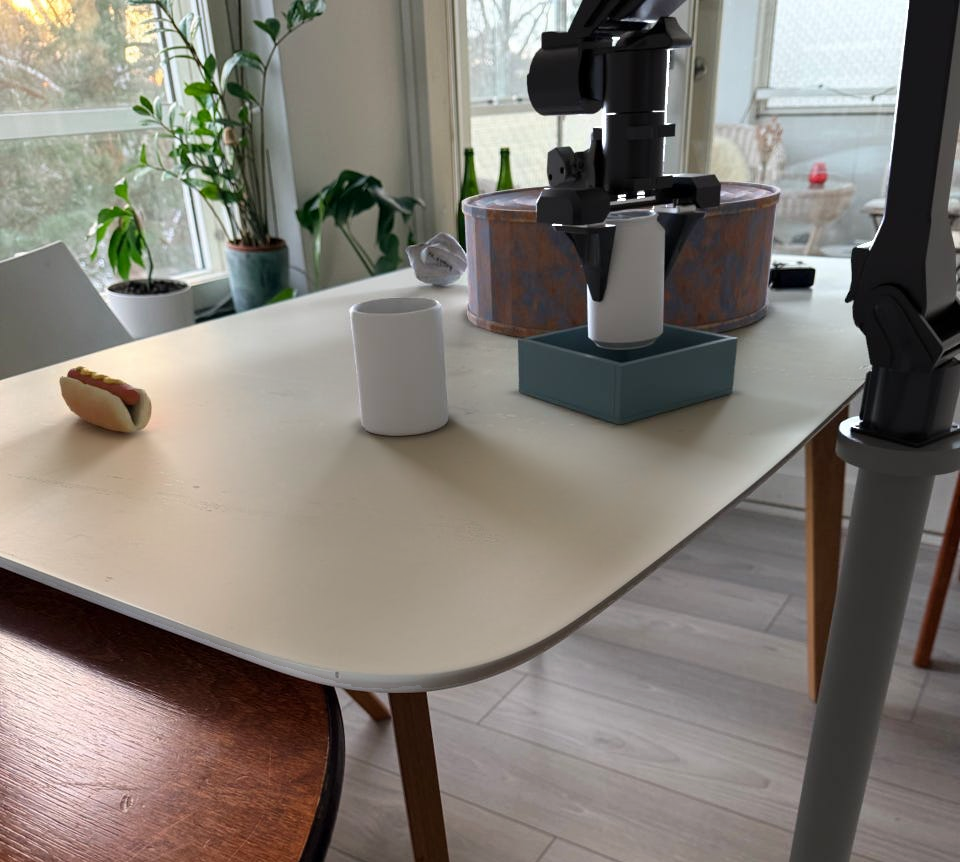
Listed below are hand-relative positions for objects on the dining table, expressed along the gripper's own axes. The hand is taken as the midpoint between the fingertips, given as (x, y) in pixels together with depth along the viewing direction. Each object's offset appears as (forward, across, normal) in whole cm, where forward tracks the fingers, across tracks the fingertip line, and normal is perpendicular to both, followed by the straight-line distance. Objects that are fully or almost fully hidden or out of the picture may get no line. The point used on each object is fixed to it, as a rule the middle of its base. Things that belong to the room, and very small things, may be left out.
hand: (628, 295), depth 90 cm
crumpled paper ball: (+10, -23, -71) cm, 75 cm away
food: (+10, +45, -28) cm, 54 cm away
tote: (+10, 0, 0) cm, 10 cm away
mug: (+10, +21, -8) cm, 25 cm away
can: (+5, 0, 0) cm, 5 cm away
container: (+10, -29, -33) cm, 45 cm away
